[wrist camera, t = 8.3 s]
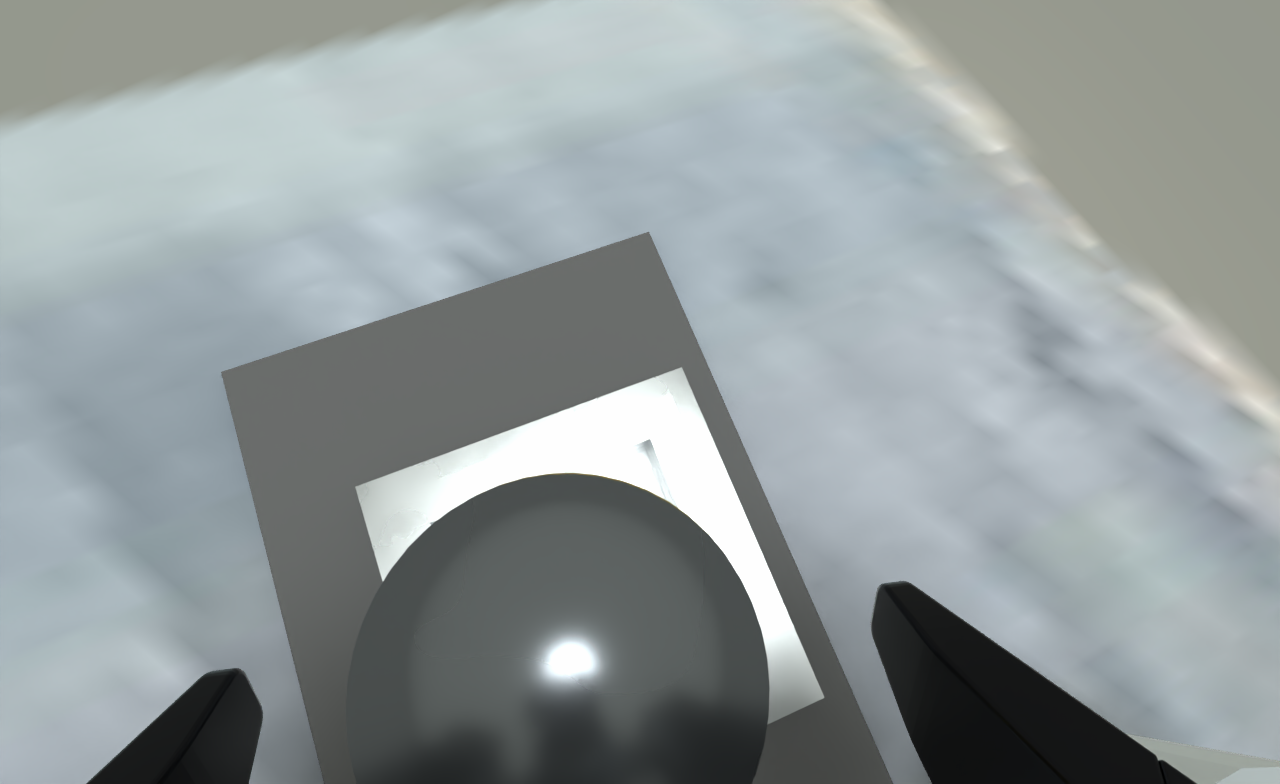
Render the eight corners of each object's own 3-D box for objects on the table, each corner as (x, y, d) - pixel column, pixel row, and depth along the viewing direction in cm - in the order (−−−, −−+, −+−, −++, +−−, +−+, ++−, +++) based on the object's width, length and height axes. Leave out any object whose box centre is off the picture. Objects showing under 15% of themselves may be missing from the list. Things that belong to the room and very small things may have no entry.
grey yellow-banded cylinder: (674, 608, 18) (861, 731, 5) (568, 690, 17) (498, 1055, 5) (600, 504, 18) (613, 390, 6) (495, 579, 18) (257, 634, 5)
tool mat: (957, 939, 17) (965, 948, 17) (443, 1225, 15) (439, 1243, 15) (647, 237, 22) (648, 231, 22) (228, 376, 20) (221, 372, 20)
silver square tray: (815, 692, 18) (849, 711, 16) (471, 853, 17) (449, 902, 14) (678, 374, 21) (689, 347, 18) (364, 490, 19) (329, 477, 17)
